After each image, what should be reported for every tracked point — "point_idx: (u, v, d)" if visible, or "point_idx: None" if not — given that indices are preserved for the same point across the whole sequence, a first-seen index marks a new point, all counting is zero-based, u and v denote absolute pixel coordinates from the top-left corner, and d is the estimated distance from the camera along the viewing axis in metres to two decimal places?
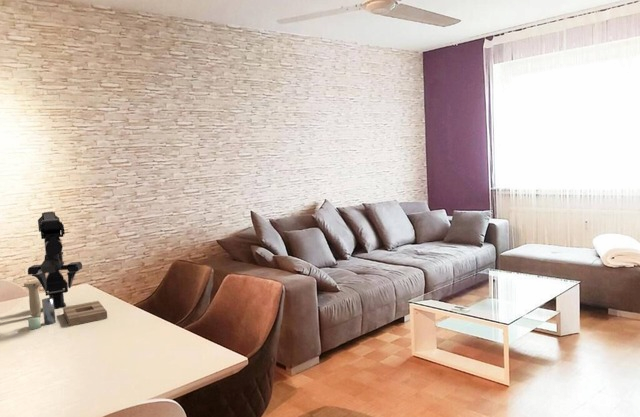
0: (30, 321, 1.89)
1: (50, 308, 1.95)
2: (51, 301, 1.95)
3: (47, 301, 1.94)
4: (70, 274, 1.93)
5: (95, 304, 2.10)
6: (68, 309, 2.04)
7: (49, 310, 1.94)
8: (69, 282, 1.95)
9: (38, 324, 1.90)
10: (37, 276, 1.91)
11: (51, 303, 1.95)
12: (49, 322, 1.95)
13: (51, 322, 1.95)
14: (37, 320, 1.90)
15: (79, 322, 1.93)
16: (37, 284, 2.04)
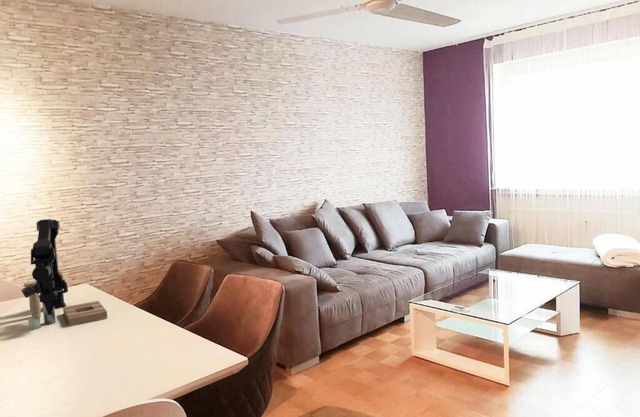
0: (30, 321, 1.89)
1: None
2: None
3: None
4: None
5: (95, 304, 2.10)
6: (68, 309, 2.04)
7: None
8: (46, 309, 1.93)
9: (38, 324, 1.90)
10: None
11: None
12: (49, 322, 1.95)
13: (51, 322, 1.95)
14: (37, 320, 1.90)
15: (79, 322, 1.93)
16: None
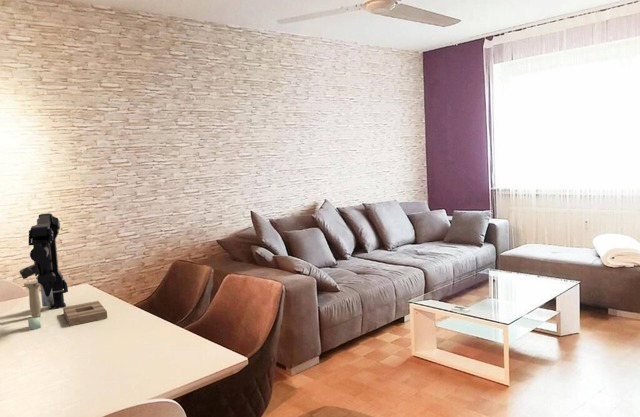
0: (30, 321, 1.89)
1: None
2: None
3: None
4: (39, 283, 1.90)
5: (95, 304, 2.10)
6: (68, 309, 2.04)
7: None
8: (44, 291, 1.92)
9: (38, 324, 1.90)
10: None
11: None
12: (47, 304, 1.94)
13: (49, 304, 1.94)
14: (37, 320, 1.90)
15: (79, 322, 1.93)
16: (37, 284, 2.04)
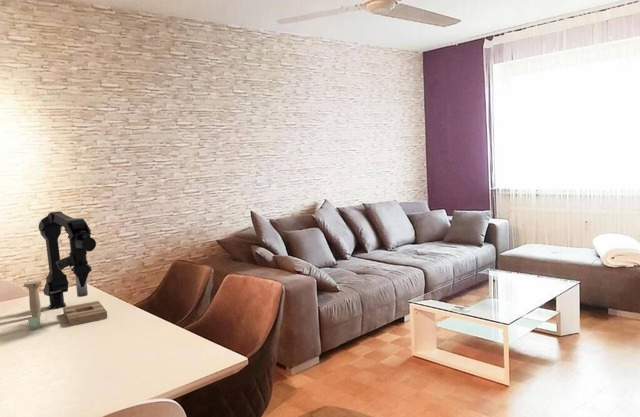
0: (30, 321, 1.89)
1: None
2: None
3: None
4: (75, 274, 1.97)
5: (95, 304, 2.10)
6: (68, 309, 2.04)
7: None
8: (79, 281, 1.99)
9: (38, 324, 1.90)
10: (72, 270, 2.03)
11: None
12: (82, 294, 2.01)
13: (84, 294, 2.01)
14: (37, 320, 1.90)
15: (79, 322, 1.93)
16: (37, 284, 2.04)
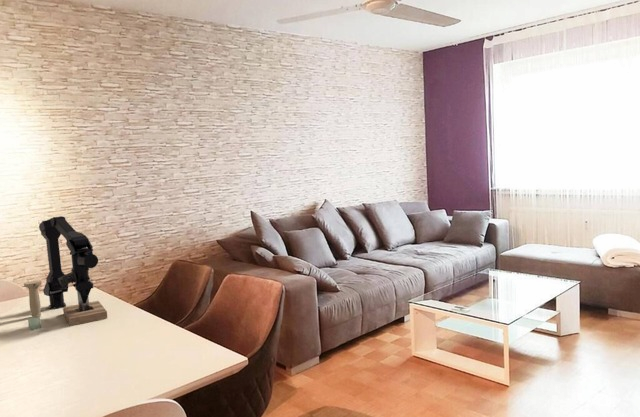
0: (30, 321, 1.89)
1: None
2: None
3: None
4: (77, 290, 1.98)
5: (95, 304, 2.10)
6: (68, 309, 2.04)
7: None
8: (81, 298, 2.00)
9: (38, 324, 1.90)
10: (74, 286, 2.04)
11: None
12: (84, 310, 2.02)
13: (86, 310, 2.02)
14: (37, 320, 1.90)
15: (79, 322, 1.93)
16: (37, 284, 2.04)
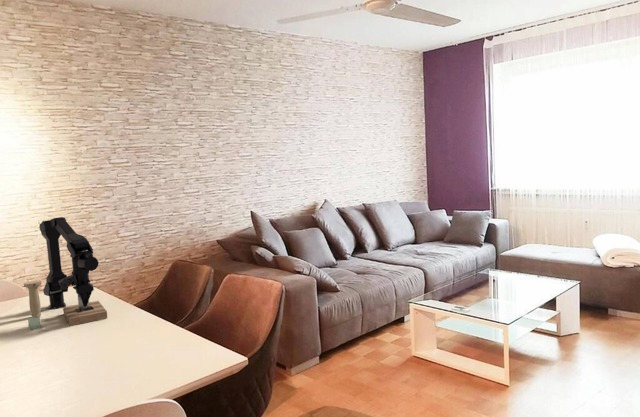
0: (30, 321, 1.89)
1: None
2: None
3: None
4: None
5: (95, 304, 2.10)
6: (68, 309, 2.04)
7: None
8: (82, 301, 1.99)
9: (38, 324, 1.90)
10: (74, 288, 2.05)
11: None
12: None
13: None
14: (37, 320, 1.90)
15: (79, 322, 1.93)
16: (37, 284, 2.04)
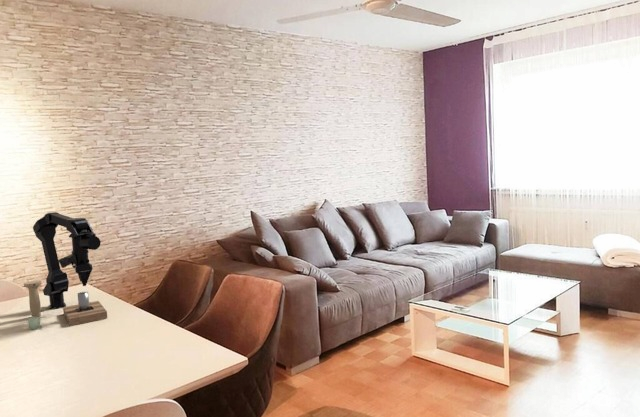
0: (30, 321, 1.89)
1: (85, 302, 2.02)
2: (86, 295, 2.02)
3: (83, 295, 2.01)
4: (77, 273, 2.01)
5: (95, 304, 2.10)
6: (68, 309, 2.04)
7: (84, 304, 2.01)
8: (81, 280, 2.03)
9: (38, 324, 1.90)
10: (73, 267, 2.11)
11: (86, 297, 2.02)
12: None
13: None
14: (37, 320, 1.90)
15: (79, 322, 1.93)
16: (37, 284, 2.04)
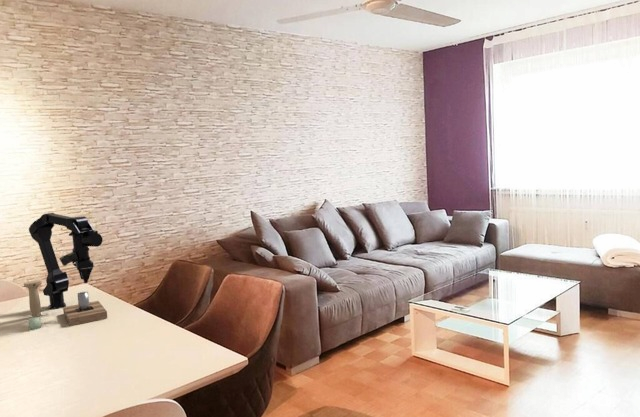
0: (30, 321, 1.89)
1: (85, 302, 2.02)
2: (86, 295, 2.02)
3: (82, 295, 2.01)
4: (79, 270, 2.04)
5: (95, 304, 2.10)
6: (68, 309, 2.04)
7: (84, 304, 2.01)
8: (82, 277, 2.06)
9: (38, 324, 1.90)
10: (74, 265, 2.14)
11: (86, 297, 2.02)
12: None
13: None
14: (37, 320, 1.90)
15: (79, 322, 1.93)
16: (37, 284, 2.04)
